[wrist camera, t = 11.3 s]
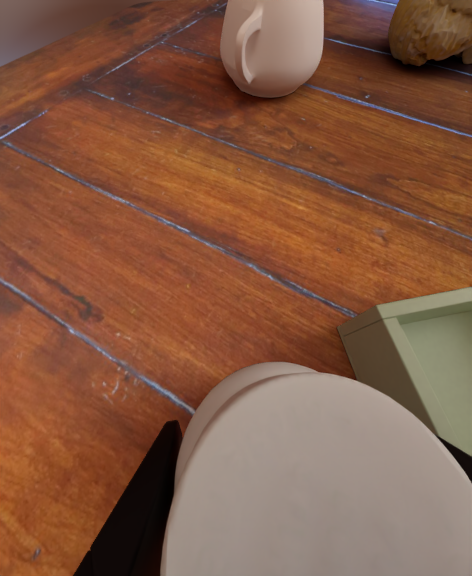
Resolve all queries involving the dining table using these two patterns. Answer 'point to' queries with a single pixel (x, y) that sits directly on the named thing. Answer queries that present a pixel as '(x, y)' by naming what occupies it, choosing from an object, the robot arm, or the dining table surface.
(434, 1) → the seashell
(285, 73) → the teapot
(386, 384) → the open box
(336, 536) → the pill bottle
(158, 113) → the dining table surface
